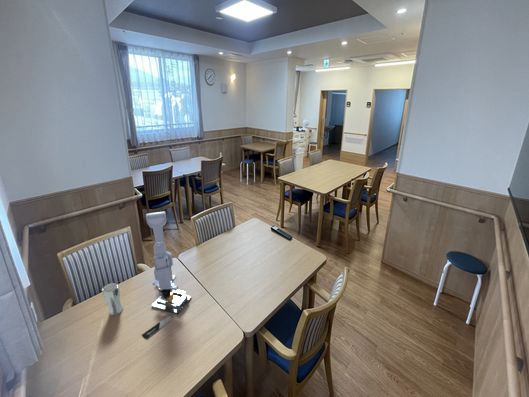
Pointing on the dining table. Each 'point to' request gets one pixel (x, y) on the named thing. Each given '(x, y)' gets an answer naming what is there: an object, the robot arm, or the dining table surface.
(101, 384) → the dining table surface
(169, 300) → the grey orange block
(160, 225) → the robot arm
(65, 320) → the dining table surface
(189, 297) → the heatsink plate
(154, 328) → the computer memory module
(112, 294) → the beer glass
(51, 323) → the dining table surface
